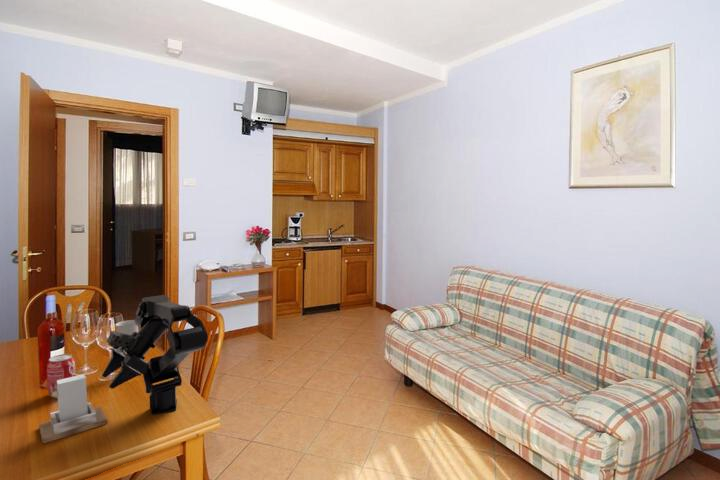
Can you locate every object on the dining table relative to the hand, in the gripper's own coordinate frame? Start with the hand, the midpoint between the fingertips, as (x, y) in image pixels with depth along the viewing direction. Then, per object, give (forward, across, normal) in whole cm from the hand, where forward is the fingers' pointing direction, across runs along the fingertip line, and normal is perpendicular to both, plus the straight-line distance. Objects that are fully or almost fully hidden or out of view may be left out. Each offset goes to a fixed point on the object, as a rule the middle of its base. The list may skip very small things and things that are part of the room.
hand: (106, 382), depth 113 cm
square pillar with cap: (+12, 0, 0) cm, 12 cm away
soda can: (+13, -23, +2) cm, 27 cm away
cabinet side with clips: (+13, 0, +1) cm, 13 cm away
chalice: (-1, -28, +16) cm, 32 cm away
